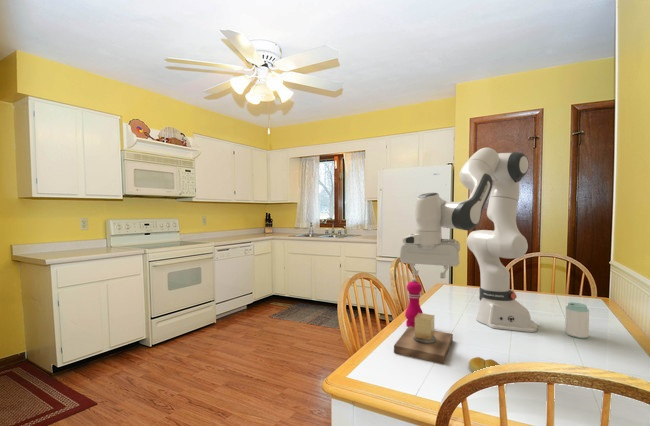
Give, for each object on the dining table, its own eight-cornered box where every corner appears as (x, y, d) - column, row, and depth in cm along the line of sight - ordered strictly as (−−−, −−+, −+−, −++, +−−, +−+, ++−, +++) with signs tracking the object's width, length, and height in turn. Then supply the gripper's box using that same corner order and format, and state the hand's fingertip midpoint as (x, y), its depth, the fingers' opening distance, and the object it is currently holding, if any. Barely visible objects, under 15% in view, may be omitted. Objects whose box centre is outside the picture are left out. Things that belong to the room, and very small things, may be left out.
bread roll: (470, 363, 103) (470, 351, 103) (502, 371, 98) (502, 358, 98) (466, 374, 96) (466, 361, 96) (500, 383, 91) (500, 369, 91)
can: (568, 337, 122) (569, 306, 122) (562, 331, 129) (563, 300, 128) (591, 340, 119) (592, 308, 119) (584, 333, 126) (585, 302, 126)
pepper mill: (424, 329, 130) (424, 280, 129) (405, 328, 131) (405, 279, 131) (422, 323, 137) (422, 276, 136) (404, 322, 138) (404, 275, 138)
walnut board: (452, 340, 119) (452, 314, 119) (443, 363, 102) (443, 333, 102) (409, 332, 127) (409, 307, 127) (393, 352, 110) (394, 324, 109)
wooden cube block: (434, 334, 115) (434, 315, 115) (431, 340, 111) (431, 320, 110) (418, 331, 118) (418, 312, 118) (414, 337, 113) (414, 317, 113)
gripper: (460, 238, 113) (461, 277, 114) (403, 236, 123) (403, 272, 124) (458, 240, 108) (459, 281, 108) (398, 238, 118) (399, 276, 118)
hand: (429, 276), depth 116 cm, fingers open, 8 cm apart
